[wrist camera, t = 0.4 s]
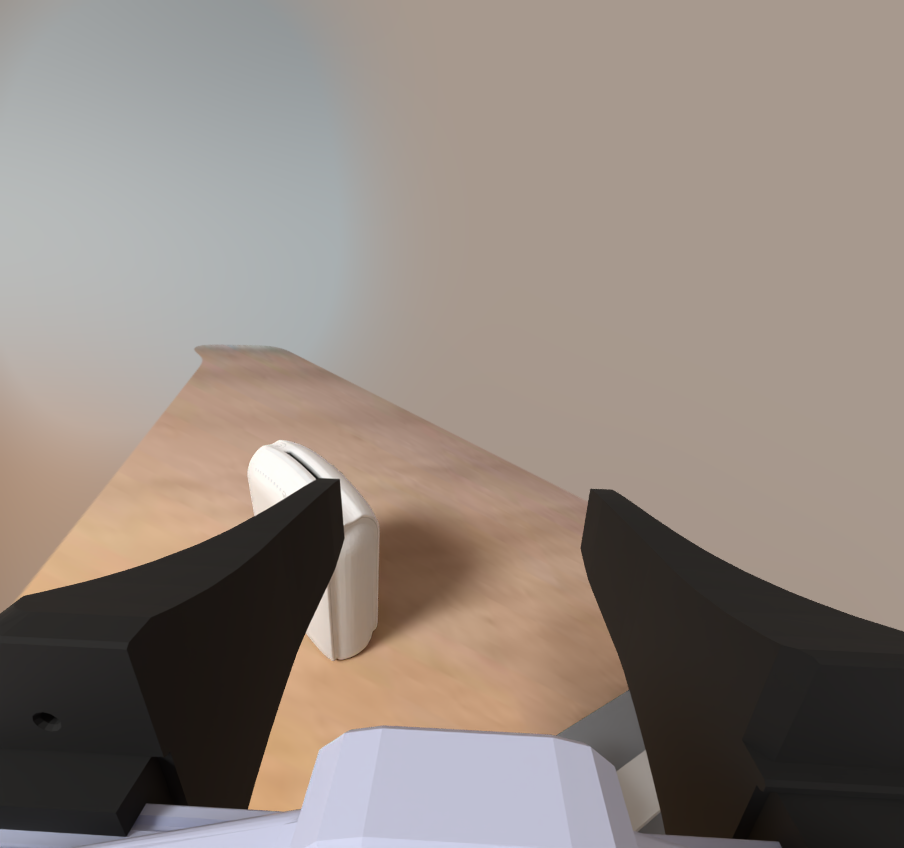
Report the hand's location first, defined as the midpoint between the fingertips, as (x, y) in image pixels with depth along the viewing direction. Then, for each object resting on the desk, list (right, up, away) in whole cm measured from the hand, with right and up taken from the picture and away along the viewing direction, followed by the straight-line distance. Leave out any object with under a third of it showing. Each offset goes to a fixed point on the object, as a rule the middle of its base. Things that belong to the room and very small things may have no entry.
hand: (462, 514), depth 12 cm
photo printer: (-10, -10, +18) cm, 23 cm away
